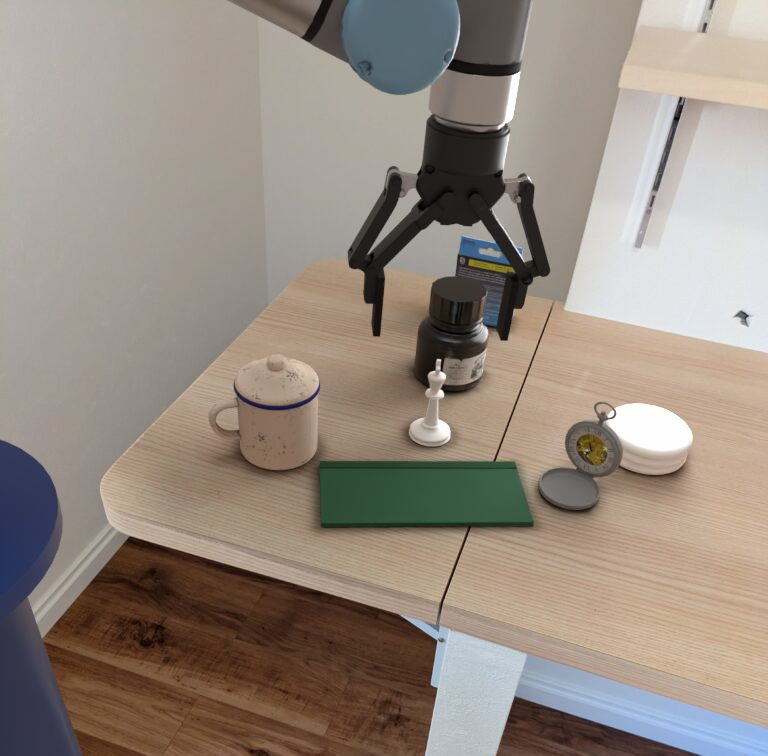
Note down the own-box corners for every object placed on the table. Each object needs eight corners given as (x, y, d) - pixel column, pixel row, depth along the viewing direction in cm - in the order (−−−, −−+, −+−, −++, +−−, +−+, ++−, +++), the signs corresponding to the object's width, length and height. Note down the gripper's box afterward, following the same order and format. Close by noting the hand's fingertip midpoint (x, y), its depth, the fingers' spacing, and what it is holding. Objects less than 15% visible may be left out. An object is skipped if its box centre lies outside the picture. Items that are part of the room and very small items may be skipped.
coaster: (583, 431, 96) (590, 407, 94) (653, 420, 99) (661, 396, 97) (628, 483, 89) (636, 458, 87) (702, 469, 92) (712, 445, 90)
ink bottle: (455, 403, 99) (468, 315, 91) (398, 376, 103) (406, 290, 95) (495, 372, 105) (511, 287, 97) (440, 348, 109) (451, 264, 101)
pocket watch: (537, 508, 85) (557, 432, 78) (537, 460, 91) (555, 386, 85) (614, 519, 84) (641, 443, 78) (609, 470, 91) (633, 396, 84)
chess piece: (408, 445, 92) (416, 370, 85) (409, 420, 95) (416, 346, 89) (450, 448, 92) (462, 374, 85) (449, 423, 96) (460, 350, 89)
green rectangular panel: (320, 527, 81) (320, 522, 80) (319, 465, 88) (319, 460, 88) (533, 526, 83) (534, 521, 82) (514, 466, 90) (515, 461, 90)
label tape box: (513, 318, 116) (529, 236, 108) (508, 331, 113) (524, 248, 105) (455, 306, 118) (466, 225, 110) (448, 319, 115) (459, 236, 107)
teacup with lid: (307, 419, 94) (307, 331, 86) (329, 465, 88) (331, 375, 80) (205, 434, 91) (195, 344, 83) (221, 484, 85) (212, 391, 77)
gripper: (593, 114, 75) (545, 319, 89) (327, 97, 72) (321, 311, 86) (616, 140, 69) (561, 354, 83) (329, 122, 66) (322, 346, 81)
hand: (439, 332), depth 85 cm, fingers open, 13 cm apart
